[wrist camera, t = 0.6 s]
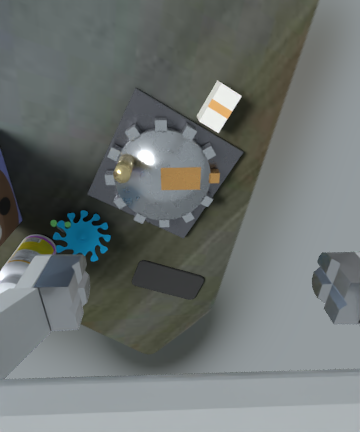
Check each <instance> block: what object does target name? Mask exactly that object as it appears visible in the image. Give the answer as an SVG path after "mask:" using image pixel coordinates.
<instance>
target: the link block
mask: <svg viewBox="0 0 360 432" xmlns="http://www.w3.org/2000/svg"><path fill="white" fill-rule="evenodd" d="M241 97H242V96H241V95H239V94H238V93H236V92H235V91H233V90H232V89H230V88H229V87H227V86H226V85H224V84H222V83H221V82H219V81H218V80H217V82H216V84H215V85H214V87H213V89H212V91H211V92H210V94H209V96H208V98H207V99H206V101H205V103H204V104H203V106H202V108H201V110H200V111H199V113H198V115H197V118H198V120H199V122H201V123H203V124H204V125H206V126H208V127H209V128H211V129H213V130H214V131H216V132H218V133H219V132H220V130H221V128H222V127H223V125H224V124H225V122H226V120H227V119H228V118H229V116H230V114H231V113H232V111H233V109H234V108H235V106H236V105H237V103H238V101H239V100H240V98H241Z"/></svg>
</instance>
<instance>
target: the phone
mask: <svg viewBox="0 0 360 432" xmlns="http://www.w3.org/2000/svg"><path fill="white" fill-rule="evenodd" d="M203 282H204V278H203V277H202V276H200V275H197V274H193V273H190V272H186V271H183V270H179V269H175V268H171V267H168V266H164V265H161V264H157V263H153V262H150V261H146V260H142V261H140V262H139V264H138V266H137V269H136V271H135V274H134V276H133V279H132V284H133V285H135V286H139V287H142V288H146V289H150V290H154V291H158V292H162V293H165V294H169V295H173V296H177V297H181V298H184V299H189V300H191V299H194V298H195V296H196V294H197V293H198V291H199V289H200V287H201V286H202V284H203Z"/></svg>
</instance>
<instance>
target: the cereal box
mask: <svg viewBox="0 0 360 432" xmlns="http://www.w3.org/2000/svg"><path fill="white" fill-rule="evenodd" d="M22 220H23V219H22V216H21V212H20V209H19V206H18V202H17V199H16V196H15V193H14V189H13V186H12V183H11V179H10V176H9V173H8V169H7V166H6V163H5V160H4V156H3V153H2V150H1V146H0V246H1V245H2V244H3V243H4V241H5V240H6V239H7V238H8V237H9V236H10V234H11V233H12V232H13V231H14V230H15V228H16V227H17V226H18V225H19V224H20V223H21V221H22Z"/></svg>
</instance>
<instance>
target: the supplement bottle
mask: <svg viewBox="0 0 360 432" xmlns="http://www.w3.org/2000/svg"><path fill="white" fill-rule="evenodd" d="M38 254H52V255H54V254H56V246H55V244H54V242H53V241H52V240H51V239H50V238H48V237H46V236H44V235H40V234H33V235H29V236H27V237H26V238H25V239H24V240H23V241H22V242H21V244H20V245H19V246H18V248H17V249H16V251H15V252H14V253H13V255H12V256H11V257H10V259H9V260H8V261H7V263H6V264H5V265H4V267H3V268H2V269H1V271H0V294H1V293H2V292H4V291H6V290H7V289H9V288H15V286H16V285H17V283H18V281H19V280H20V278H21V277H22V275H23V274H24V272H25V271H26V269H27V268H28V266H29V265H30V263H31V261H32V260H33V258H34V257H35V256H36V255H38Z"/></svg>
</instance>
